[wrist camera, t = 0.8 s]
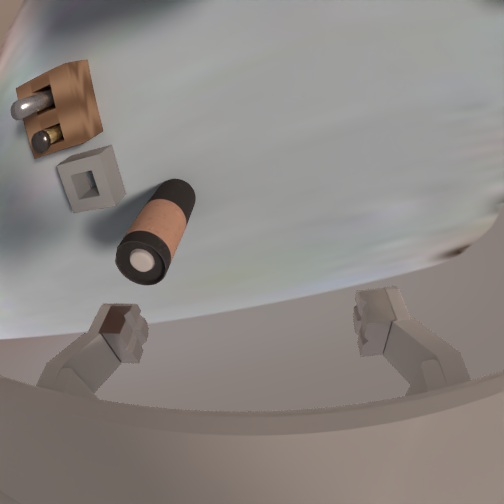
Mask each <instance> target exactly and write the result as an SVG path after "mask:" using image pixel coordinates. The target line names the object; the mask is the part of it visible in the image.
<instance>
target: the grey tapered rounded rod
mask: <svg viewBox="0 0 504 504" xmlns="http://www.w3.org/2000/svg"><path fill="white" fill-rule="evenodd" d="M52 105H55V103H54V98H53V94H52V89H50V90H47V91H44V92H41V93H38V94H35V95H32V96H29V97H26V98H24V99H21V100H18V101H16V102H14V103H13V104H12V107H11V115H12V117H13V118H14V119H15V120H20V119H22V118H24V117H26V116H29V115H31V114H33V113H35V112H38V111H40V110H43V109H45V108H47V107H50V106H52Z"/></svg>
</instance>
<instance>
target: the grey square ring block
mask: <svg viewBox="0 0 504 504" xmlns="http://www.w3.org/2000/svg"><path fill="white" fill-rule="evenodd" d="M57 169H58V172H59V175H60V178H61V180H62V183H63V186H64V189H65V192H66V194H67V197H68V200H69V202H70V205H71V208H72V210H73V213H77V212H83V211H89V210H95V209H101V208H107V207H114V206H116V205H117V204H118V203H119V202H120V200H121V199H122V198H123V197H124V196H125V195H126V192H125V188H124V185H123V182H122V179H121V175H120V172H119V168H118V165H117V162H116V158H115V154H114V151H113V147H112V145H110V146H106V147H102V148H98V149H94V150H90V151H87V152H83V153H80V154H76V155H73V156H70V157H68V158H67V159H66V160H64V161H63V162H61V163H60V164H59V165H57ZM91 170H92V173H93V176H94V179H95V182H96V185H97V187H94V188H91V186H90V183H89V180H88V177H87V174H86V172H87V171H91Z"/></svg>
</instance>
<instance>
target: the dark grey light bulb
mask: <svg viewBox="0 0 504 504" xmlns="http://www.w3.org/2000/svg"><path fill="white" fill-rule="evenodd" d="M62 137H63V133H62V130H61V126H60V124H59V125H57V126H55V127H53V128H51V129H49V130H47V131H44V130H40V131H38V132H36V133H35V134H34V135H33V136H32V139H31V144H32V147H33V149H34V150H35V151H36V152H37V153H43V152H45V151H46V150H48V149H49V147H50V144H51V143H53V142H55V141H56V140H58V139H60V138H62Z"/></svg>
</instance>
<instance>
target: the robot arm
mask: <svg viewBox="0 0 504 504" xmlns="http://www.w3.org/2000/svg"><path fill="white" fill-rule="evenodd" d="M355 300H356V306H355V307H354V313H353V322H354V328H355V333H356V334H358V335H359V336H358V347H359V351H360V356H361V357H364V356H373V355H382V354H383V356H384V357H385V358H386V359H387V360H388V361H389V363H390V364H391V365H392V366H393V367H394V368H395V369H396V370H397V371H398V372H399V373H400V374H401V375H402V376H403V377H404V378H405V380H406V381H407V382H408V383H409V384H410V387H409V389H408V391H407V393H406V395H405V396H403V397H398V398H392V399H387V400H381V401H374V402H368V403H361V404H353V405H345V406H336V407H326V408H315V409H302V410H285V411H255V412H254V411H253V412H252V411H248V412H237V411H233V412H230V411H200V410H182V409H168V408H158V407H149V406H139V405H132V404H124V403H118V402H111V401H104V400H100V399H99V398H98V397H97V396H96V395H95V394H94V393H95V392H96V391H97V390H98V388H100V386H101V385H102V384H103V383H104V382H105V381H106V380H107V379H108V378H109V377H110V376H111V374H112V373H113V372H114V371H115V370H116V369H117V368H118V367H119V365H120V364H121V363H139V362H140V359H141V356H142V353H143V348H142V345H143V344H144V343H145V342H146V341H147V338H148V325H147V322H146V320H145V318H143V317H142V316H141V315H140V312H141V310H140V308H139V306H138V305H137V304H103V305H101V307H100V309H99V311H98V313H97V315H96V317H95V319H94V321H93V323H92V325H91V327H90V329H89V331H88V333H84V334H82V335H81V336H80V337H79V338H77V339H76V340H75V341H74V342H72V343H71V344H70V345H69V346H67V347H66V348H65V349H64V350H62V351H61V352H60V353H59V354H58V355H56V356H55V357H54V358H53V359H52V360H50V361H49V362H48V363H47V364H46V366H45V368H44V370H43V372H42V374H41V376H40V379H39V381H38V383H37V385H36V386H35V385H31V384H27V383H24V382H20V381H17V380H13V379H10V378H7V377H4V376H0V504H504V370H502V371H499V372H496V373H493V374H489V375H486V376H483V377H480V378H477V379H473V380H471V379H470V377H469V374H468V371H467V368H466V366H465V363H464V361H463V358H462V356H461V353H460V352H459V351H458V350H456V349H455V348H453V347H452V346H451V345H450V344H448V343H447V342H446V341H444V340H443V339H442V338H441V337H439V336H438V335H437V334H435V333H434V332H433V331H431V330H430V329H429V328H427V327H426V326H424V325H423V324H422V323H420V322H419V321H418V320H416V319H415V318H412V319H411V318H410V315H409V313H408V310H407V308H406V305H405V303H404V300H403V298H402V295H401V293H400V291H399V288H398V287H397V286H392V287H384V288H377V289H368V290H359V291H357V292H356V295H355Z"/></svg>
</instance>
